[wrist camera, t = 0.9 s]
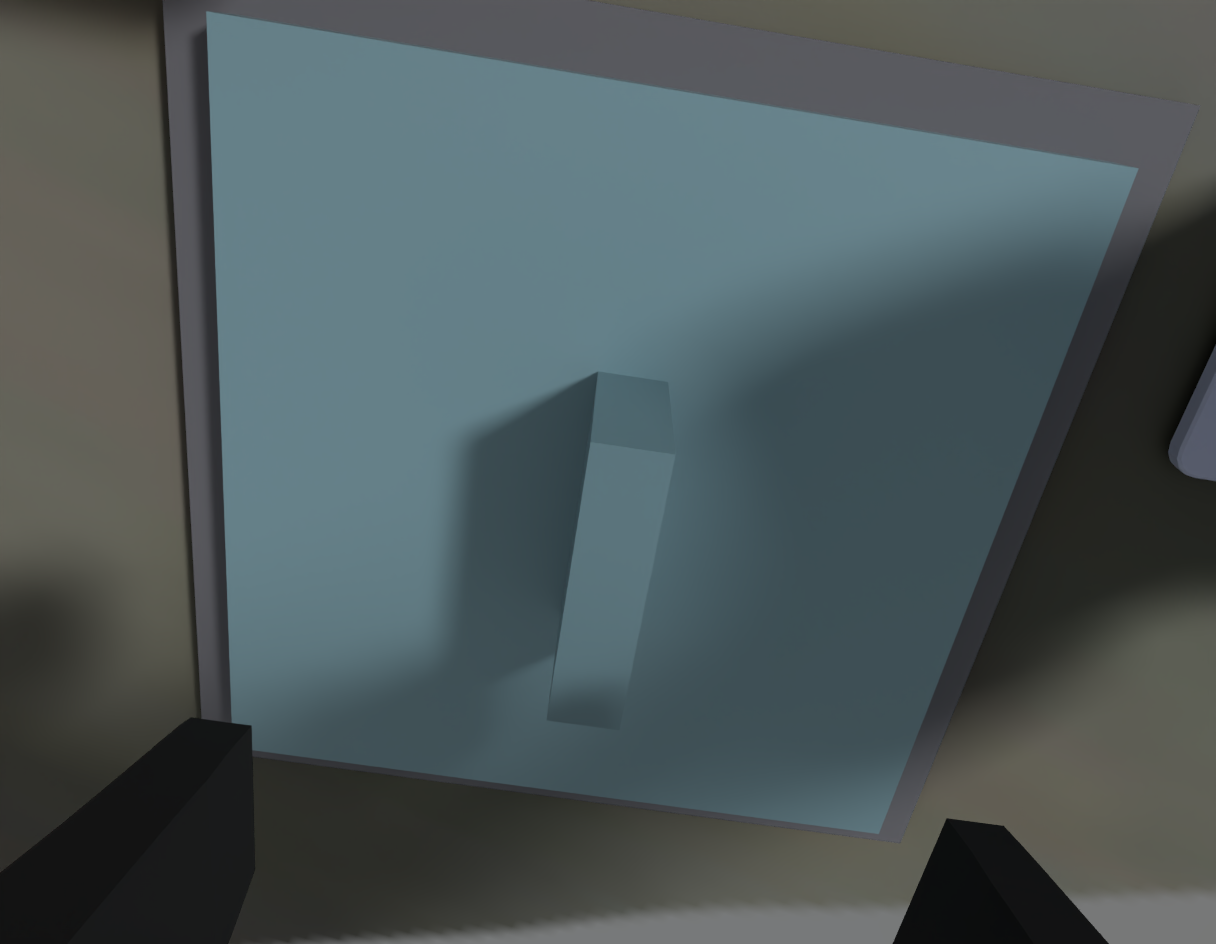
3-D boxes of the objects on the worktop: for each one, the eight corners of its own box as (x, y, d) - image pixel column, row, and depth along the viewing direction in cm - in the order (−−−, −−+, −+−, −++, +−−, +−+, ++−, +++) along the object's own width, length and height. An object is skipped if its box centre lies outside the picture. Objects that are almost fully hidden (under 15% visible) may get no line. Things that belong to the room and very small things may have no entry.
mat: (1185, 104, 14) (1200, 106, 14) (895, 829, 21) (900, 843, 21) (171, -71, 14) (158, -74, 13) (211, 737, 20) (203, 750, 20)
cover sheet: (1113, 162, 14) (1265, 198, 11) (869, 805, 20) (918, 960, 17) (229, 13, 14) (93, 2, 10) (246, 721, 20) (166, 864, 16)
